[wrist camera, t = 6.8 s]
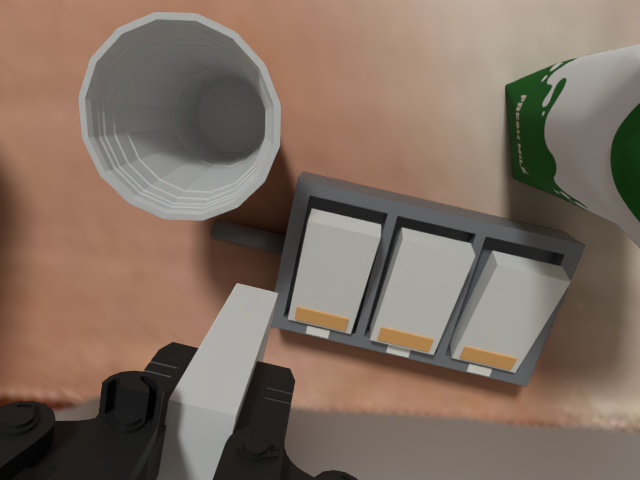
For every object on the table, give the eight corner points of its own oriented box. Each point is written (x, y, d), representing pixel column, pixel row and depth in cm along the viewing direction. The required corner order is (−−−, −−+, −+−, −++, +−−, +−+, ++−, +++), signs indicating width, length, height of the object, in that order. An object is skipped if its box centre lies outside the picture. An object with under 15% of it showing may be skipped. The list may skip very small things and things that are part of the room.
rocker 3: (449, 341, 37) (452, 359, 35) (492, 250, 32) (497, 266, 31) (510, 355, 37) (515, 374, 35) (562, 266, 32) (571, 283, 31)
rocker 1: (292, 304, 37) (287, 320, 36) (311, 208, 32) (307, 221, 31) (352, 318, 37) (350, 335, 36) (381, 224, 32) (380, 238, 31)
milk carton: (490, 74, 33) (670, 37, 14) (623, 47, 32) (1013, -34, 13) (501, 192, 36) (668, 296, 17) (626, 171, 34) (960, 256, 15)
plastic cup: (331, 139, 36) (319, 157, 24) (219, 210, 38) (158, 256, 26) (253, 9, 33) (199, -41, 22) (139, 91, 36) (35, 86, 24)
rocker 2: (370, 325, 37) (369, 341, 35) (401, 227, 33) (402, 240, 31) (431, 339, 37) (433, 356, 35) (470, 243, 33) (475, 257, 31)
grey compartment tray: (207, 291, 40) (193, 308, 37) (229, 154, 36) (215, 159, 33) (512, 362, 40) (527, 387, 36) (564, 231, 36) (585, 245, 33)
